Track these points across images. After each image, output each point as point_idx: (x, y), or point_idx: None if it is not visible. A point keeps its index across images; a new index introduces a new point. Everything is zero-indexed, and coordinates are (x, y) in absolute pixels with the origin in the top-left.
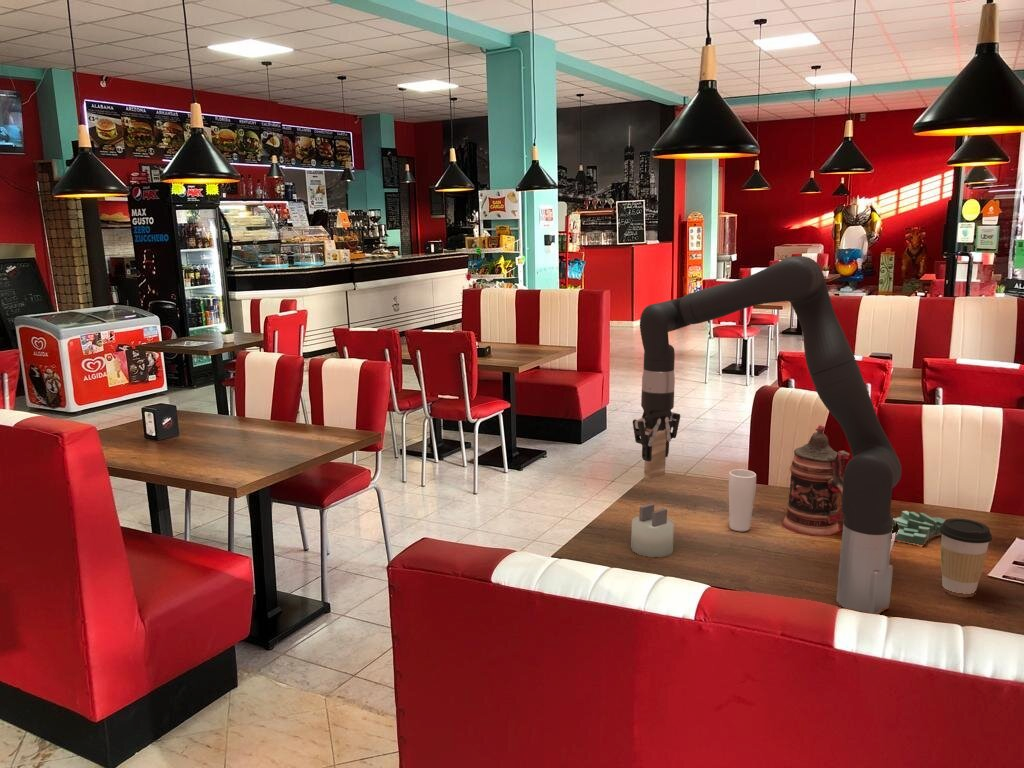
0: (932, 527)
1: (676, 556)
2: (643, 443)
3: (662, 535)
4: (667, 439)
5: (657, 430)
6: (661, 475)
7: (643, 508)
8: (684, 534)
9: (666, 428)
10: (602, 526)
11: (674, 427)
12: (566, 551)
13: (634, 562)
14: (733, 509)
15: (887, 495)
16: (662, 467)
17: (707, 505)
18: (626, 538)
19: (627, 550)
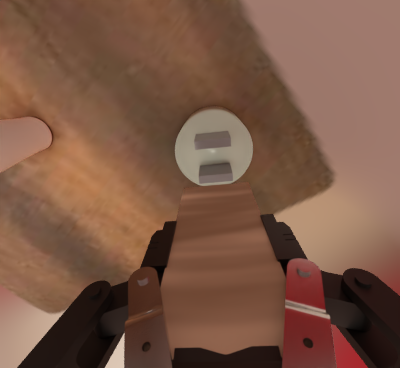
0: None
1: (197, 96)
2: (371, 276)
3: (222, 111)
4: (157, 279)
5: (251, 357)
6: (198, 187)
7: (229, 172)
8: (132, 158)
9: (167, 357)
10: None
11: (66, 354)
12: (319, 192)
13: (270, 113)
14: (25, 139)
15: None
16: (193, 200)
17: (41, 220)
18: None
19: None
